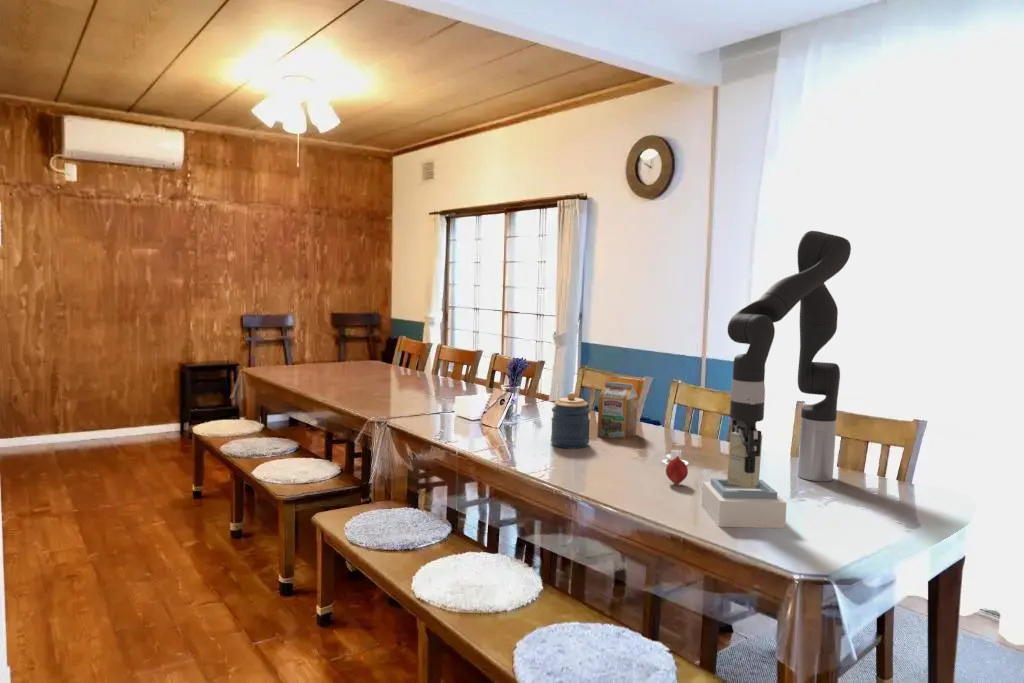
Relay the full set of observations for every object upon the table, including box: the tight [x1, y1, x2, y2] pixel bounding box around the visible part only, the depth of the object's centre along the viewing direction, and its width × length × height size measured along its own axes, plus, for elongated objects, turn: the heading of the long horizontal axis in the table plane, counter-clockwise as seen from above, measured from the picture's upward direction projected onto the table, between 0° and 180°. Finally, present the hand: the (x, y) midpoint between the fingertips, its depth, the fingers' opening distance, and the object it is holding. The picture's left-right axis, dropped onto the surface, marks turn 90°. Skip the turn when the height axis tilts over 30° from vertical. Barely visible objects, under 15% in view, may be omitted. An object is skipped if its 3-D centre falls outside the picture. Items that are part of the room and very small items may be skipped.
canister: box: [550, 392, 591, 449], centre depth 233 cm, size 13×13×18 cm
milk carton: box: [597, 381, 639, 441], centre depth 249 cm, size 11×11×19 cm
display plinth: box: [701, 478, 788, 529], centre depth 165 cm, size 15×15×8 cm
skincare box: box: [726, 431, 763, 488], centre depth 164 cm, size 6×4×12 cm
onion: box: [665, 456, 689, 485], centre depth 190 cm, size 6×6×8 cm
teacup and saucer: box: [661, 449, 689, 466], centre depth 214 cm, size 9×8×4 cm
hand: (744, 468), depth 164 cm, fingers closed on skincare box, 7 cm apart
